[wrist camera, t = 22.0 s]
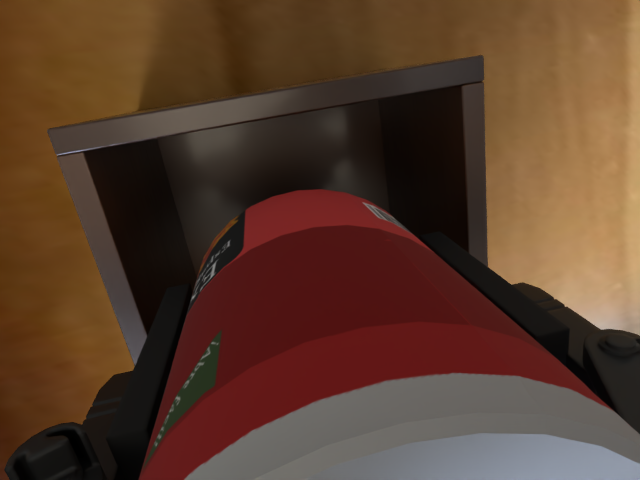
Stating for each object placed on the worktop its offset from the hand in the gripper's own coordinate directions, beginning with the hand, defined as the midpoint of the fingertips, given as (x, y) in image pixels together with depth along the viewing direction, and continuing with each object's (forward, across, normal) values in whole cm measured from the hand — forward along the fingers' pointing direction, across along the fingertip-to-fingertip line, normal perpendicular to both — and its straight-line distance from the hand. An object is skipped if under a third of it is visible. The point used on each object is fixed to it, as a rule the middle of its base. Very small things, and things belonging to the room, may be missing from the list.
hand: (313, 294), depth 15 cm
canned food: (+1, 0, 0) cm, 1 cm away
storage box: (+11, 0, 0) cm, 11 cm away
